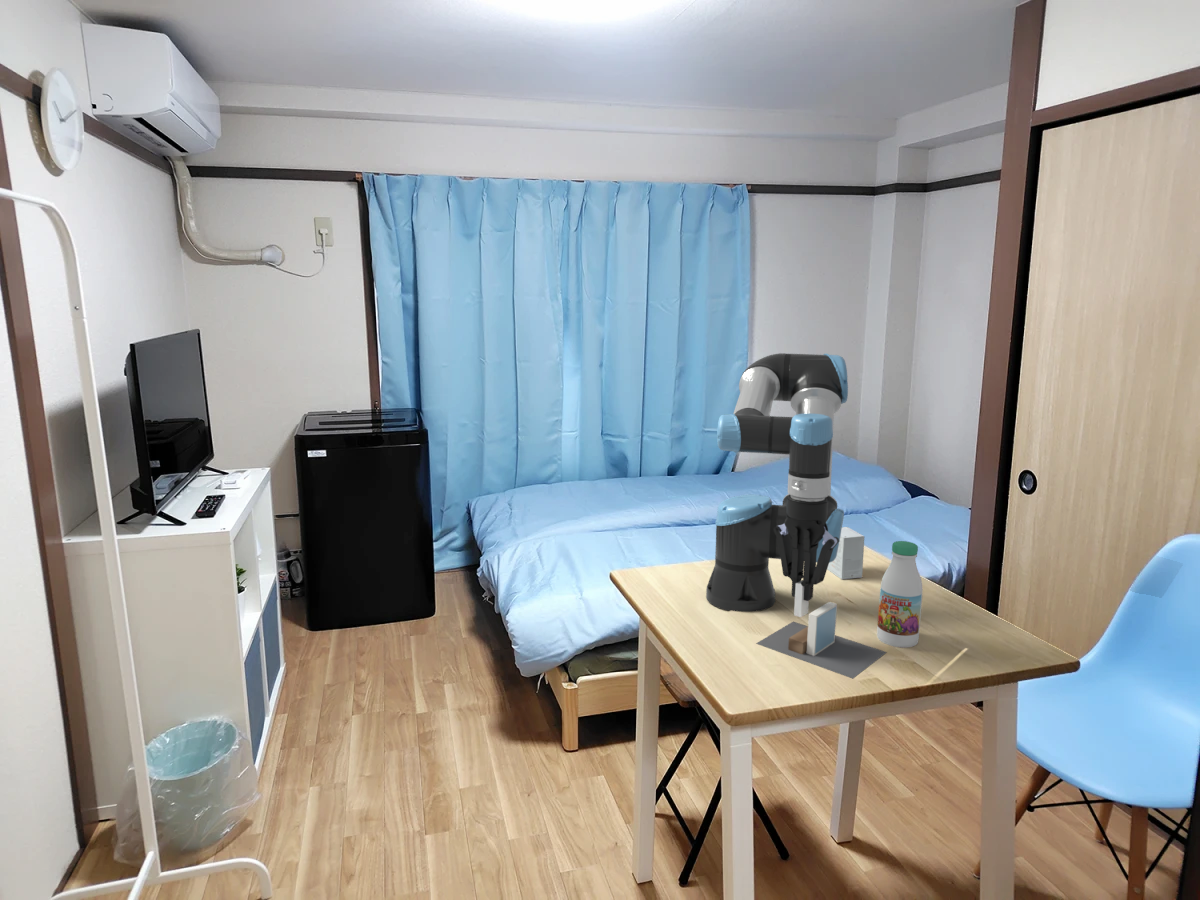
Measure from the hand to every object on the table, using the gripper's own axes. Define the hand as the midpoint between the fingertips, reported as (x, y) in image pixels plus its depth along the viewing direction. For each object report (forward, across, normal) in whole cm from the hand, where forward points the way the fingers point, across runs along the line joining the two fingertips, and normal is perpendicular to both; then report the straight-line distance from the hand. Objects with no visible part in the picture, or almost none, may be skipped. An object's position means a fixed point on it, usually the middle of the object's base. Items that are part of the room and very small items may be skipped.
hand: (801, 614), depth 151 cm
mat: (+6, +4, +1) cm, 7 cm away
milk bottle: (+6, +13, +15) cm, 21 cm away
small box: (+6, -12, +41) cm, 44 cm away
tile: (+6, +4, +1) cm, 7 cm away
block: (+6, +2, 0) cm, 6 cm away
